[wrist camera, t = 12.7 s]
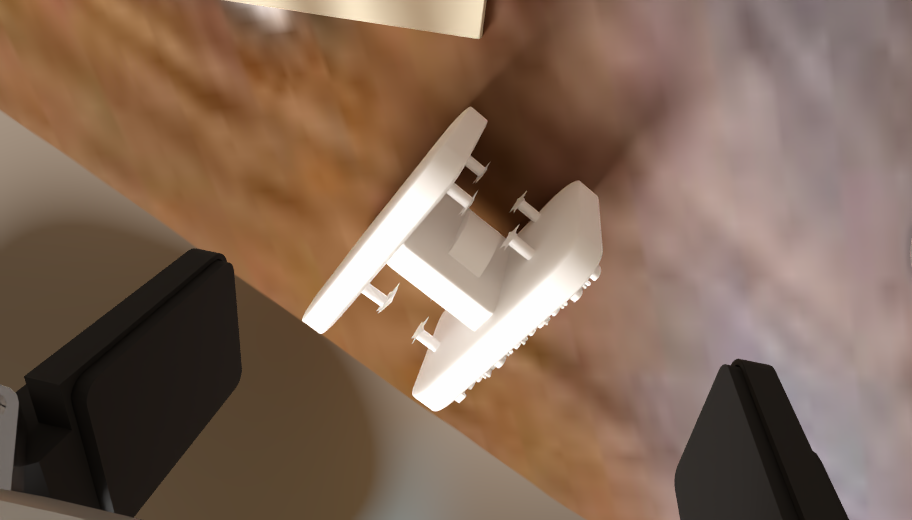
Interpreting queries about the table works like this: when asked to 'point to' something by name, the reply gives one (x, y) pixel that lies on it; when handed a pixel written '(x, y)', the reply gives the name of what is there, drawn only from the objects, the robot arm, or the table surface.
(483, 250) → the cable organizer
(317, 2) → the board
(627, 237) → the table surface
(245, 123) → the table surface
